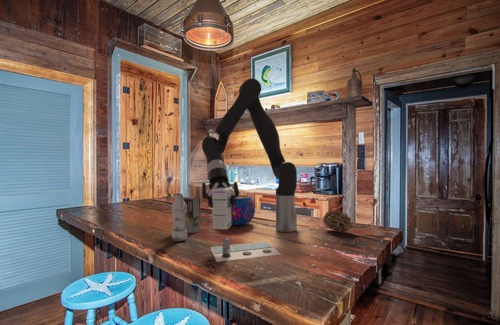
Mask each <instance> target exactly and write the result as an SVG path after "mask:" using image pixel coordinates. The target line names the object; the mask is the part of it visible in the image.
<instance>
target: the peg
mask: <svg viewBox="0 0 500 325" xmlns="http://www.w3.org/2000/svg"><path fill="white" fill-rule="evenodd" d="M221 239H222V241H221V242H222V245H221V246H222V256H223V257H229V256H230V245H231V239H230V238H229V237H223V238H221Z"/></svg>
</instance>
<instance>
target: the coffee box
mask: <svg viewBox="0 0 500 325" xmlns="http://www.w3.org/2000/svg"><path fill="white" fill-rule="evenodd" d="M183 200H184V201H185V203H186V205H187V211H186V229H187V234H195V233H198V232H200V231H201V198H200V197H191V196H190V197H189V196H184V198H183Z"/></svg>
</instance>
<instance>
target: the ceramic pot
mask: <svg viewBox="0 0 500 325" xmlns="http://www.w3.org/2000/svg"><path fill="white" fill-rule="evenodd" d="M235 199H236V204H235V206H234V207H232V203H231V215H232V225H234V226H244V225H247V224H249V223H250V222H252V220H253V219H254V216H255V213H256V206H255V202H254V201H253V199H252V197H250V196H249V195H246V194H239V196H238V198H235Z"/></svg>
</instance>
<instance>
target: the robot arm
mask: <svg viewBox="0 0 500 325" xmlns="http://www.w3.org/2000/svg"><path fill="white" fill-rule="evenodd" d="M261 92H262V84H261V83H260V81H259V80H258V79H256V78H253V77H252V78H247V79H246V80H244V81H243V82H242V84H241V85H240V86H239V89H238V93H239V94H238V95H237V97H236V99H235V101H234V102H233V103H232V105H231V107H230V108H229V109H228V110H227V112H226V113H225V114H224V115H223V117H222V118H221V119H220V121H219V122H218V125H217V126H216V127H215V128H214V129H215V133H216V134H217V136H218V138H216V137H215V136H213V135H206V136H205V137H204V138H203V139H202V142H201V148H202V151H203V154H204V156H205V158H206V162H207V175H208V181H209V182H208V184H207V183H205V182H202V184H201V197H202V199H203V200H207V206H208V207H209V208H210V209H212V207H213V202H212V190H214V189H217V188H231V203H232V207H234V206H235V204H236V199H235V198H238V196H239V195H240V190H239V186H238V183H237V182H236V181H234V182H233V183H230V181H229V177H228V171H227V166H226V164H225V160H224V155H223V153H224V152H225V149H226V147H227V145H228V144H227V143H228V141H229V138H230V136H231V134H232V132H233V131H234V130H235V128H236V126H237V125H238V123H239V121H240V119H241V118H242V117H243V115H244V114H245V112H246V111H248V114H249V116H250V118H251V122H252V123H253V126H254V128H255V131H256V134H257V135H258V138H259V140H260V142H261V144H262V147H263V149H264V152H265V153H266V155H267V158H268V160H269V163H270V166H271V169H272V173H273V175H274V176H275V178H276V179H277V180H278V186H277V188H276V189H275V230H276V231H277V232H280V233H292V232H295V231H297V230H298V228H297V226H298V224H297V223H298V222H297V218H298V217H297V213H298V212H297V210H296V200H295V199H296V197H295V196H296V190H297V183H298V182H297V179H298V176H297V174H298V172H297V167H296V165H295V164H294V163H293V162H290V161H286V159H285V158H284V156H283V153H282V150H281V143H280V135H279V132H278V129H277V127H276V125H275V122H274V121H273V119H272V118H271V116H270V115H269V114H268V113H267V111H266V110H265V109H264V107H263V105H262V103H261V100H260V94H261ZM208 189H209V190H210V191H209V192H208V193H207V190H208Z"/></svg>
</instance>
